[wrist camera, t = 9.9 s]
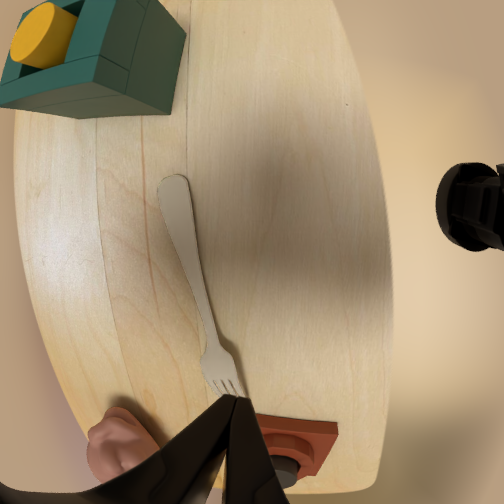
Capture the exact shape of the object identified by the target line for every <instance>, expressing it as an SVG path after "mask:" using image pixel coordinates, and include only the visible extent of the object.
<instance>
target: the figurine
mask: <svg viewBox="0 0 504 504" xmlns="http://www.w3.org/2000/svg"><path fill="white" fill-rule="evenodd" d="M88 438H89V443H88V446H87V460H88V464H89V467H90V469H91V471H92V472H93V474H94V476H95V477H96V478H97V479H98V480H99V481H100V482H101V483H102V484H103V483H105V482H107V481H109V480H111V479H113V478H115V477H117V476H119V475H121V474H122V473H124V472H126V471H128V470H130V469H131V468H133V467H135V466H136V465H138V464H140V463H141V462H142V461H144V460H145V459H147V458H148V457H149V456H151V455H152V454H153V453H155V452H156V451H157V450H159V449H160V448H159V446H158V445H157V443H156V442H155V441H154V439H153V438H152V437H151V435H150V434H149V433H148V432H147V430H146V429H145V428H144V427H143V426H142V425H141V424H140V422H139V421H138V420H137V419H136V418H135V417H134V416H133V415H132V414H131V413H129V412H128V411H127V410H126V409H124V408H121V407H111V408H110V409H108V410H107V411H106V413H105V415H104V417H103V419H102V420H101V422H99V423H98V424H97V425H95V426H93V427H91V428H90V430H89V431H88Z"/></svg>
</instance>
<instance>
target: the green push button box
mask: <svg viewBox="0 0 504 504" xmlns="http://www.w3.org/2000/svg"><path fill="white" fill-rule="evenodd" d="M47 2H50V3H53V4H55V5H57V6H58V7H60V8H62V9H64V10H66V11H67V12H69V13H71V14H73V15H74V16H76V17H78V20H77V23H76V26H75V29H74V32H73V35H72V38H71V41H70V44H69V47H68V51H67V54H66V57H65V61H64V63H65V64H61V65H58V66H54V67H51V68H48V69H45V70H43V69H40V68H37V67H33V66H30V65H26V64H22V63H19V62H15V61H13V60H12V58H11V55H10V50H9V53H8V57H7V60H6V63H5V67H4V70H3V74H2V78H1V82H0V107H1V108H10V109H18V110H26V111H32V112H39V113H46V114H52V115H58V116H64V117H69V118H75V119H87V118H98V117H113V116H133V115H170V114H171V108H172V102H173V96H174V90H175V85H176V79H177V74H178V69H179V64H180V60H181V55H182V50H183V46H184V41H185V37H186V33H185V31H184V30H183V29H182V28H181V27H180V25H179V24H178V23H177V22H176V21H175V19H174V18H173V17H172V16H171V15H170V14H169V12H168V11H167V10H166V9H165V8H164V7H163V5H162V4H161V3H160V2H159V1H158V0H47V1H45V2H43V3H47ZM43 3H41V4H43ZM41 4H39V5H41ZM39 5H37V6H36V7H38V6H39ZM36 7H34V8H32V9H30V10H28V11H26V12H25V13H23V15H22V18H21V20H20V22H19V25H18V27H17V29H18V28H19V26H20V24H21V23H22V22H23V20H24V19H25V18H26V17H27V15H28V14H29V13H30V12H31V11H32V10H34V9H35V8H36ZM10 48H11V47H10Z"/></svg>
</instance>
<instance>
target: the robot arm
mask: <svg viewBox="0 0 504 504" xmlns="http://www.w3.org/2000/svg"><path fill="white" fill-rule="evenodd" d="M463 167H464V168H465V172H464V171H463ZM496 168H497V173H499V177H496V176H494V175H492V174H489V173H487V172H485V171H482V170H480V169H477V168H475V167H472V166H470V165H467V164H460V166H459V169H458V177H457V184H456V186H455V193H454V199H453V205H452V211H451V213H452V216H451V221H450V226H449V231H448V234H449V236H450V237H451V238H454V239H458V240H462V241H466V242H470V243H474V244H477V245H481V246H485V247H489V248H493V249H500V250H502V251H504V164H499V165H496ZM454 230H455V234H454V235H453V231H454ZM225 454H226V457H225ZM224 457H225V468H224V480H223V493H222V504H290V503H289V501H288V499H287V498H286V495H285V493H284V491H283V488H282V486H281V484H280V481H279V478H278V476H277V475H276V474H277V473H276V471H275V468H274V465H273V462H272V460H271V457H270V454H269V451H268V448H267V446H266V443H265V440H264V437H263V434H262V431H261V428H260V425H259V423H258V420H257V417H256V414H255V411H254V408H253V405H252V402H251V399H250V398H247V397H242V396H238V397H237V396H236V395H231V394H223V395H222V396H221V397H220V398H219V399H218V400H217V401H216V402H214V403H213V404H212V405H211V406H210V407H209V408H208V409H207V410H205V411H204V412H203V413H202V414H201V415H200V416H198V417H197V418H196V419H195V420H194V421H193V422H192V423H190V424H189V425H188V426H187V427H186V428H184V429H183V430H182V431H181V432H180V433H178V434H177V435H176V436H175V437H174V438H172V439H171V440H170V441H169V442H167V443H166V444H165V445H164V446H162V447H161V448H160V449H159V450H157V451H156V452H155V453H153V454H152V455H151V456H149V457H148V458H147V459H145V460H144V461H142V462H141V463H140V464H138V465H136V466H135V467H133V468H131V469H130V470H128V471H126V472H124V473H122V474H121V475H119V476H117V477H115V478H113V479H111V480H109V481H107V482H105V483H103V484H101V485H99V486H97V487H94V488H92V489H90V490H87V491H83V492H77V493H41V492H26V491H19V490H15V489H12V488H9V487H7V486H5V485H4V484H2V483H1V482H0V504H205V503H206V500H207V498H208V496H209V493H210V491H211V489H212V486H213V484H214V482H215V479H216V477H217V474H218V472H219V470H220V467H221V465H222V462H223V460H224Z"/></svg>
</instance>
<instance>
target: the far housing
mask: <svg viewBox="0 0 504 504" xmlns="http://www.w3.org/2000/svg"><path fill="white" fill-rule="evenodd" d="M256 417H257V420H258V423H259V425H260V428H261V431H262V434H263V437H264V440H265V443H266V446H267V448H268V451H269V454H270V455H274V454H275V455H284V456H289V457H291V458H293V459H295V460H296V461H297V463H298V469H297V480H299V479H301V478H303V477H305V476H316V474H317V473H318V471H319V469H320V467H321V466H322V464H323V462H324V461H325V459H326V457H327V455H328V454H329V452H330V450H331V448H332V446H333V444H334V443H335V441H336V439H337V437H338V435H339V434H338V426H337V423H334V422H319V421H308V420H298V419H289V418H281V417H274V416H267V415H260V414H256Z"/></svg>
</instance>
